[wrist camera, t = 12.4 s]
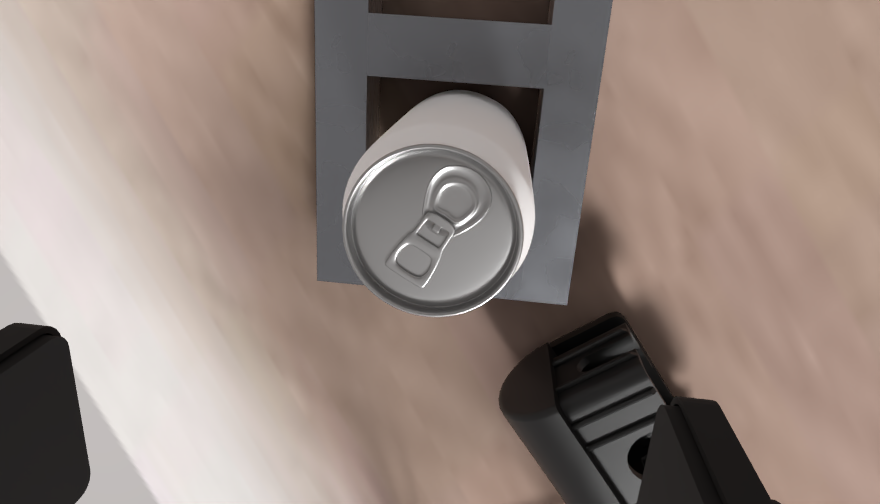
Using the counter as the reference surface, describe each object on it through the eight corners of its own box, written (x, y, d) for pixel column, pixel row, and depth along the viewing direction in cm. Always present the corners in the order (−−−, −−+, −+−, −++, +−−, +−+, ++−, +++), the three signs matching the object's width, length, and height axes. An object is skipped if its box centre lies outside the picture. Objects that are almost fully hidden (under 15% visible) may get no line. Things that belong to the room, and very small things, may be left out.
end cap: (497, 359, 34) (495, 436, 28) (614, 299, 32) (641, 368, 26) (585, 488, 36) (603, 586, 30) (699, 440, 34) (743, 534, 28)
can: (553, 138, 29) (583, 209, 18) (477, 243, 31) (461, 364, 20) (440, 60, 29) (397, 84, 17) (370, 173, 31) (292, 259, 20)
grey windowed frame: (636, -239, 24) (653, -274, 21) (561, 280, 32) (566, 305, 29) (333, -250, 25) (311, -284, 22) (333, 258, 33) (317, 280, 30)
